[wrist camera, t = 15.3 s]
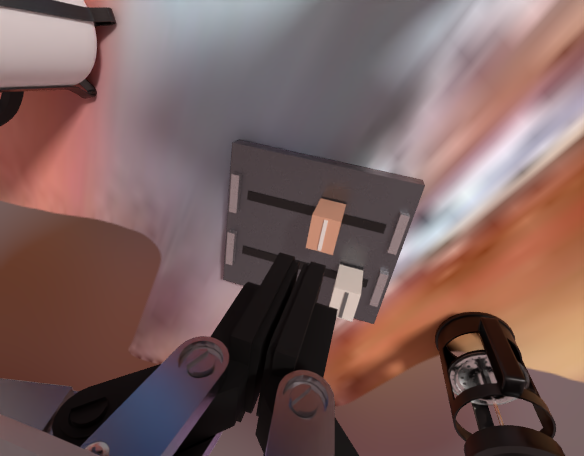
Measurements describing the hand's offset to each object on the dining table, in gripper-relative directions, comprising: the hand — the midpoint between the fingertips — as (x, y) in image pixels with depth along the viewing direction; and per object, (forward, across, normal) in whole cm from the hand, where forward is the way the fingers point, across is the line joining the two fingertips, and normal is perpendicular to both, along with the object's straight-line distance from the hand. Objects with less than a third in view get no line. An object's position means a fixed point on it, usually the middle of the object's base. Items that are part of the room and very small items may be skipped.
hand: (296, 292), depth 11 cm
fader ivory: (+25, -3, +17) cm, 31 cm away
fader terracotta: (+25, +1, +9) cm, 27 cm away
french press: (+28, -21, +22) cm, 41 cm away
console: (+28, +3, +13) cm, 31 cm away
